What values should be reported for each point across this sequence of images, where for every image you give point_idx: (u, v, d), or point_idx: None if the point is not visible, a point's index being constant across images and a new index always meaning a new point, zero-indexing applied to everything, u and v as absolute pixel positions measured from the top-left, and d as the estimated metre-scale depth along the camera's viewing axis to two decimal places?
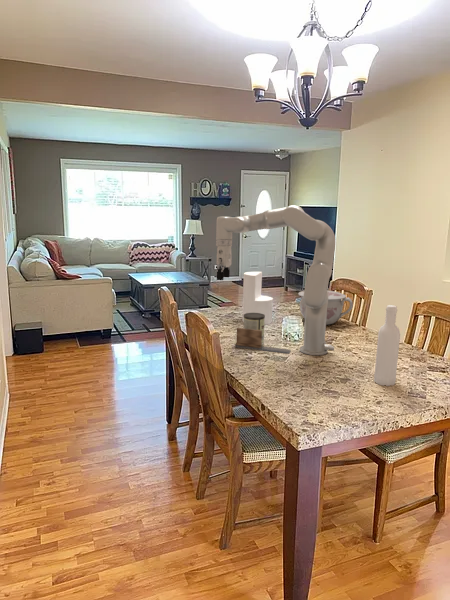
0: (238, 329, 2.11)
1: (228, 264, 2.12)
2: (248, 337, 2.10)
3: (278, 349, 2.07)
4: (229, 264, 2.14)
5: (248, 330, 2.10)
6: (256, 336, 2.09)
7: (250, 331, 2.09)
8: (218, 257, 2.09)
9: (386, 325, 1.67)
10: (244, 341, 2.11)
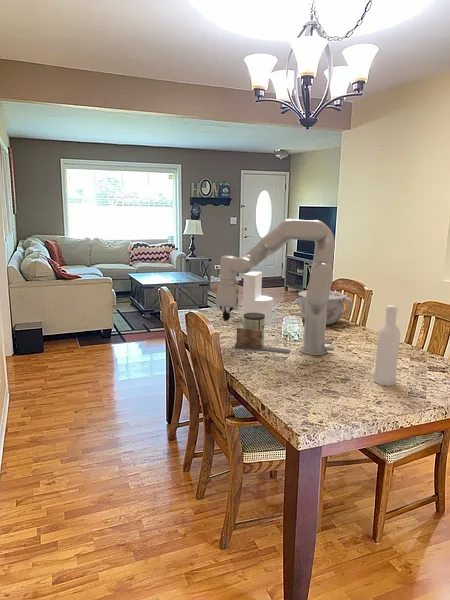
0: (238, 329, 2.11)
1: None
2: (248, 337, 2.10)
3: (278, 349, 2.07)
4: None
5: (248, 330, 2.10)
6: (256, 336, 2.09)
7: (250, 331, 2.09)
8: (236, 297, 2.08)
9: (386, 325, 1.67)
10: (244, 341, 2.11)
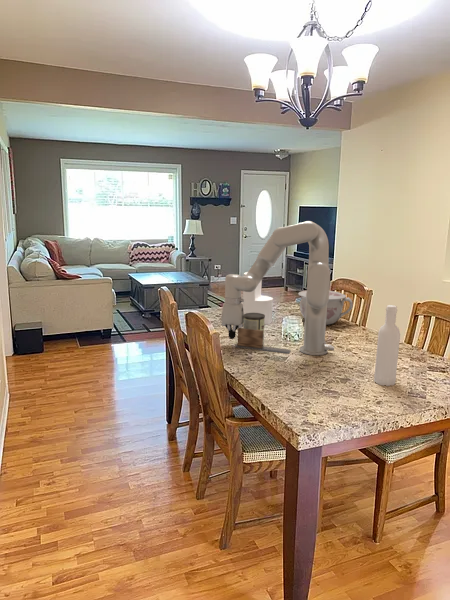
0: (239, 329, 2.11)
1: None
2: (249, 337, 2.10)
3: (278, 349, 2.07)
4: None
5: (249, 330, 2.09)
6: (257, 336, 2.09)
7: (251, 331, 2.09)
8: (241, 315, 2.09)
9: (386, 325, 1.67)
10: (245, 341, 2.11)
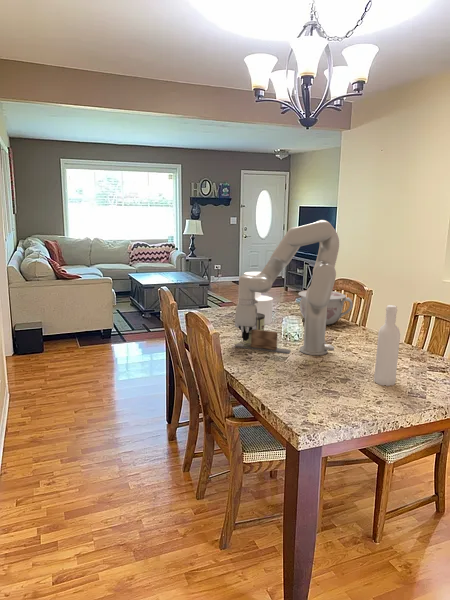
0: (253, 331, 2.09)
1: None
2: (263, 339, 2.08)
3: (278, 349, 2.07)
4: None
5: (263, 332, 2.07)
6: (271, 338, 2.06)
7: (265, 333, 2.07)
8: (255, 317, 2.07)
9: (386, 325, 1.67)
10: (259, 343, 2.09)
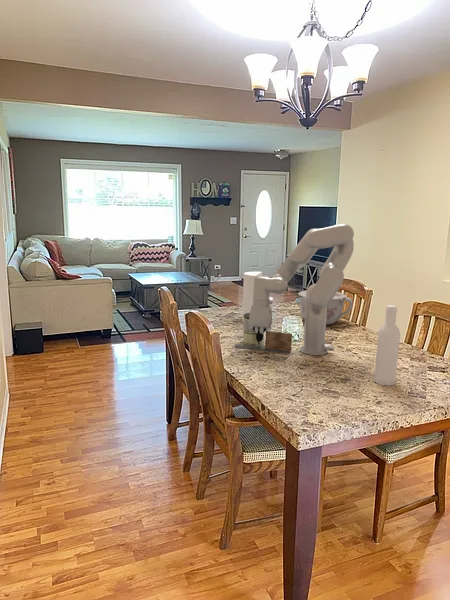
0: (267, 332, 2.07)
1: None
2: (277, 340, 2.06)
3: None
4: None
5: (278, 333, 2.05)
6: (286, 339, 2.04)
7: (280, 334, 2.05)
8: (270, 318, 2.04)
9: (386, 325, 1.67)
10: (273, 345, 2.07)
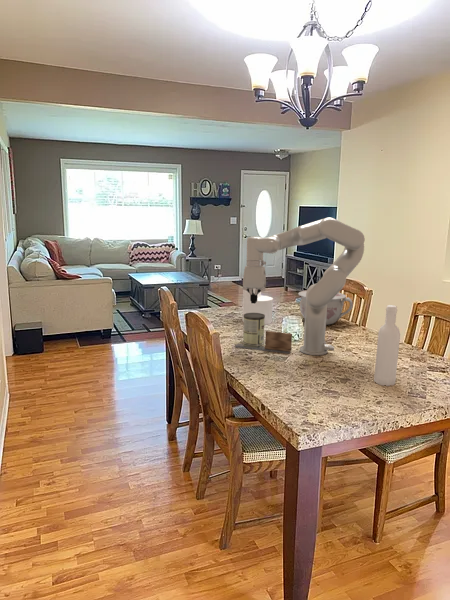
0: (267, 332, 2.07)
1: None
2: (277, 340, 2.06)
3: None
4: None
5: (277, 333, 2.05)
6: (286, 339, 2.04)
7: (280, 334, 2.05)
8: (264, 278, 2.04)
9: (386, 325, 1.67)
10: (273, 345, 2.07)
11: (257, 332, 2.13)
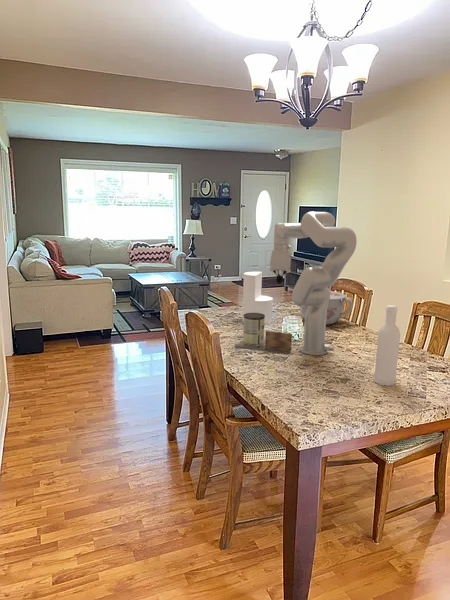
0: (267, 332, 2.07)
1: None
2: (277, 340, 2.06)
3: None
4: None
5: (277, 333, 2.05)
6: (286, 339, 2.04)
7: (280, 334, 2.05)
8: (289, 261, 2.25)
9: (386, 325, 1.67)
10: (273, 345, 2.07)
11: (257, 332, 2.13)
